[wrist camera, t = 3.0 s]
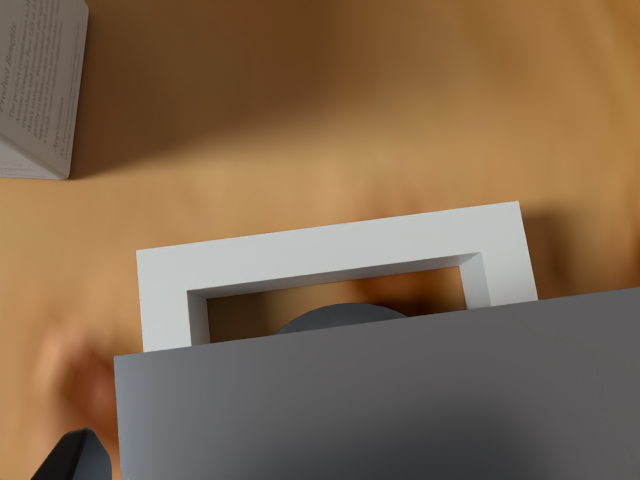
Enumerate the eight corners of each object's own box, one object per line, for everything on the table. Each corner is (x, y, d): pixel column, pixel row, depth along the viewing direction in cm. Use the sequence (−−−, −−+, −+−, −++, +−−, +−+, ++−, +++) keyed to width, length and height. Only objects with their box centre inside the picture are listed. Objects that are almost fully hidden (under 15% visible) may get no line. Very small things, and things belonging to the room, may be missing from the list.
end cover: (473, 510, 16) (1038, 1124, 3) (258, 540, 16) (-8, 1286, 3) (437, 295, 17) (756, 138, 4) (235, 322, 17) (-28, 240, 4)
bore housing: (559, 579, 16) (603, 621, 13) (192, 630, 16) (167, 683, 13) (491, 221, 18) (518, 200, 15) (162, 264, 17) (136, 250, 15)
